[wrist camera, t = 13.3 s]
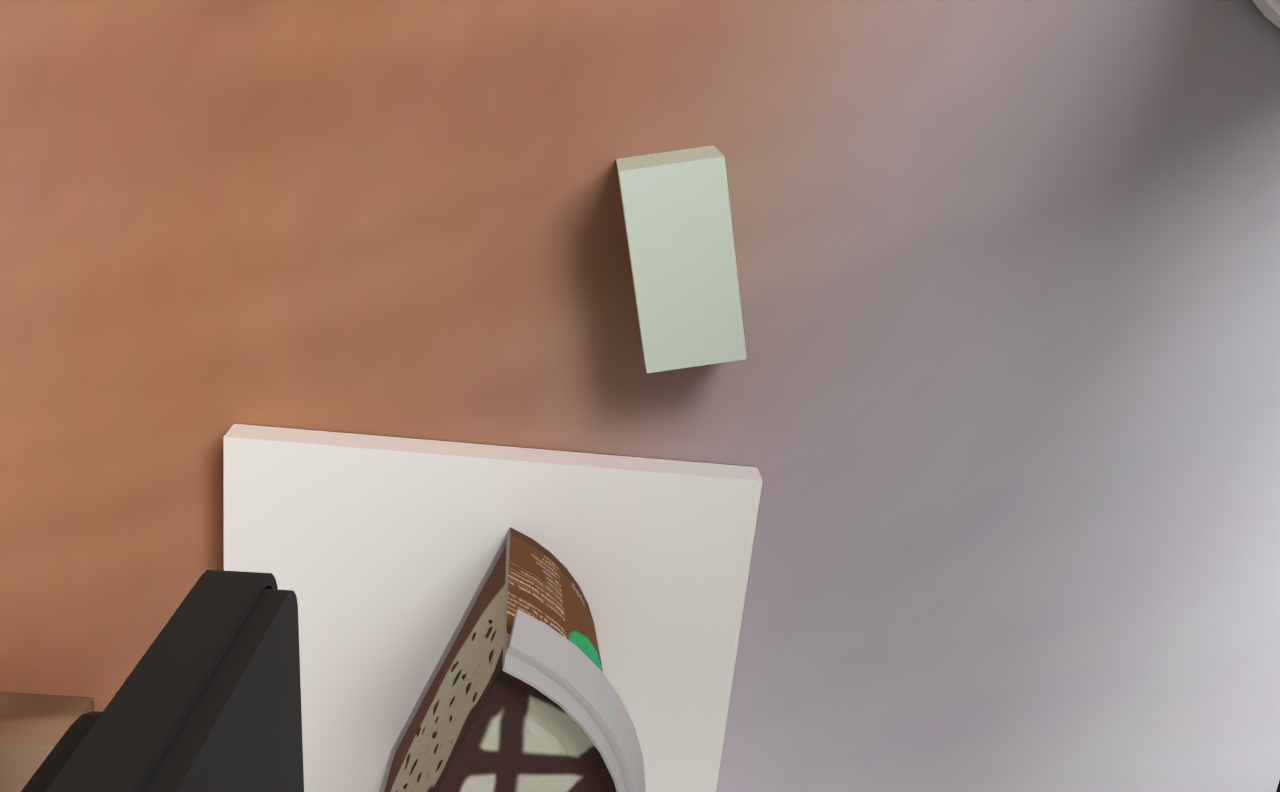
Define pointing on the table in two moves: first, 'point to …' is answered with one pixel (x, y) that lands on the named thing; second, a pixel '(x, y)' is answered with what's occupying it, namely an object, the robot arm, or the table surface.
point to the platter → (457, 561)
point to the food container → (519, 693)
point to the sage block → (682, 258)
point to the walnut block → (33, 732)
